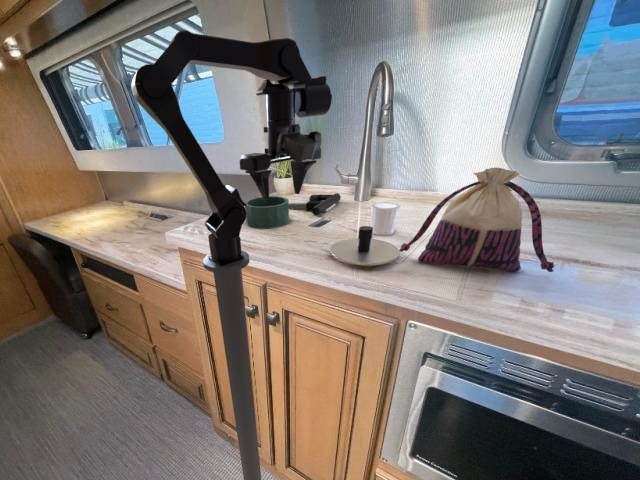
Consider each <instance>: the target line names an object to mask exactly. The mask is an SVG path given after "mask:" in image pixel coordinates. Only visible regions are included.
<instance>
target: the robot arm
mask: <svg viewBox="0 0 640 480" xmlns="http://www.w3.org/2000/svg"><path fill="white" fill-rule="evenodd" d="M297 43H298V42H297V41H295V40H294V39H292V38H291V37H290V38H289V37H286V38H274V39H268V40H263V41H254V42H252V41H245V40H239V39H233V38H227V37H220V36H213V35H206V34H200V33H195V32H194V33H193V32H191V31H189V30H187V29H181V30H179V31H178V32H177V33H176V34H175V35H174V36H173V37H172V38H171V41H170V43H169V45H168V46H167V47H166V48H165V50H164V51H162V53H161V55H160V56H159V57H158V58H157V59H156V60H155V62H154V63H153V64H151V63H149V64H148V63H147V64H144V65H142V66H141V67H139V69H138V70H137V71H136V72H135V74H134V76H133V78H132V79H131V92H132V95H133V97H134V99H135V101H136V102H137V103H138V105H140V107H141V108H142V109H143V110H144V111H145V112H146V113H147V115H148V116H149V117H150V118H151V119H153V120H154V122H156V123H157V124H158V125H159V126H160V127H161V128H162V129H163V131H164V132H165V133H166V135H167V136H168V138H169V139H170V141H171V142H172V144H173V145H174V148H176V150H177V152H178V153H179V155H180V157H181V158H182V159H183V161H184V163H185V164H186V166H187V167H188V169H189V170H190V172H191V173H192V174H193V176H194V177H195V179H196V181H197V182H198V184H199V185H200V187H201V188H202V190H203V191H204V194H205V196H206V200H207V205H208V206H209V208H210V211H211V213H210V214H209V216H208V217H207V219H206V220H205V221H204V226H205V227H206V229H207V231H208V232H210V234H208V235H207V238H208V245H209V252H210V253H211V255H210V256H208V259H210V260H212V261H213V262H215V263H217V264H218V265H220V266H224V265H227V264H229V263H232V262H235V261H238V260H241V259H244V256H243V255H241V253H242V251H243V250H242V242H241V241H242V240H241V236H240V235H241V230H242V227H243V225H244V223H245V222H246V216H247V212H246V209H245V206H247V204H245V202H244V200H243V199H242V197H241V195H240V191H239V189H237V188H236V187H233V186H232V185H229V184H226V185H224V183H223V181H222V180H221V178H220V177H219V175H218V173H217V172H216V170H215V168H214V167H213V165H212V164H211V162H210V160H209V159H208V157H207V155H206V153H205V151H204V150H203V149H202V147H201V145H200V143H199V142H198V140H197V138H196V137H195V135H194V133H193V132H192V130H191V128H190V127H189V125H188V123H187V121H186V120H185V118H184V116H183V113H182V109H181V107H180V104H179V100H178V97H177V95H176V92H175V90H174V87H173V85H172V84H173V83H174V82H175V81H176V79H178V77H180V75H181V74H182V72H183V71H184V69H185V68H186V67H187V66H188V65H197V66H204V67H205V66H206V67H213V68H222V69H231V70H239V71H245V72H248V73H251V74H252V75H254V76H255V77H258V78H260V79H263V81H262V83H261V85H260V86H259V87H258V89H257V90H255V95H256V96H258V97H259V96H265V97H266V98H265V99H266V101H265V102H266V126H264V127H263V133H264V134H266V133H267V147H266V148H264V153H263V152H252V153H247V154H242V155H241V157H240V159H239V170H241V171H244V172H245V174H249V176H250V177H251V179H252V180H253V182H254V183H255V185H256V187H257V189H258V191H259V193H260V195H261V197H263V199H264V201H265V202H269V196H270V181H269V180H270V179H269V178H270V176H271V174H272V172H273V170H271V169H270V167H271V165H273V164H277V163H282V162H286V161H287V162H288V161H290V169H291V176H292V185H293V190H294V194H296V195H300V194H301V190H302V187H303V184H304V181H305V179H306V176H307V173H308V171H309V169H310V168H311V167H312V166H313V165H314V164H316V163H317V162H318V159H322V148H321V146H322V133H321V132H319V131H318V130H315V131H310V132H309V133H308V134H303V133H301V126H300V124H299V123H296V116H297V117H298V118H308V117H309V118H310V117H318V116H325V115H326V114H327V113H329V112H330V111H329V110H330V108H331V106H332V102H333V101H332V100H333V95H332V91H331V87H330V85H329V84H328V83H327V76H326V75H323V76H317V77H312V76H311V74H310V72H309V70H308V68H307V66H306V64H305V62H304V60H303V59H302V57H301V52H300V48H299V46H298V44H297ZM272 82H276V83H272ZM290 87H292V88H290ZM241 250H242V251H241ZM210 253H209V254H210Z"/></svg>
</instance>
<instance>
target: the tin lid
mask: <svg viewBox="0 0 640 480" xmlns="http://www.w3.org/2000/svg"><path fill="white" fill-rule="evenodd" d="M329 254H330V256H331V257H332V256H333V257H334V259H336V260H337V261H339V262H342V263H345V264H349V265H352V264H354V265H353V266H355V265H364V266H373V265H376V266H382V265H387V264H390V263H392V262H395V261H396V260H397V259H398V258H399V256H400V251H399V248H398V246H396V245H394V244H392V243H390V242H387V241H385V240H381V239H375V238H373V227H371V225H362V226H360V227H359V228H358V236H357V238H346V239H342V240H339V241H336V242H335V243H333V244H332V245H331V246H330V248H329ZM333 257H332V258H333Z"/></svg>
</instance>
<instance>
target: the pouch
mask: <svg viewBox="0 0 640 480" xmlns="http://www.w3.org/2000/svg"><path fill="white" fill-rule="evenodd" d="M473 175H474V176H475V177H476V179H477V181H474V182H473V183H470V184H468V185H465V186H462V187H461V188H459V189H457V190H455V191H454V192H452V193H450V194H449V195H448V196H446V197H445V198H444V199H442V200H441V201H440V202H439V203H438V204H437V205H436V206H435V207H434V208H433V209H432V210H431V212H430V214H429V215H428V216H427V217H426V219H425V221H424V222H423V223H422V225H421V226H420V229H419V230H418V232H417V233H416V234H415V235H414V237H412V239H411V240H410V241H409V242H407V243H406V242H403V243H402V244H401V245H400V249H399V248H398V250H399V253H403V252H404V251H405V252H408V251H409V250H410V249H411V245H414V244H415V243H416V242H417V241H419V240H420V238H421V237H422V236H423V235H424V234H425V233H426V232H427V230H428V229H429V228H430V226H431V224H432V223H433V221H434V220H435V218H436V217H437V215H438V213H439V212H440V211H441V210H442V208H443V207H444V206H446V204H447V203H448V202H449V201H450V200H451V199H453V198H454V197H455V196H456V197H455V198H454V199H453V200H452V201H451V202H449V204H448V206H447V207H446V209H445V211H444V213H443V214H442V216H441V218H440V220H439V221H438V223H437V225H436V226H435V229H434V230H433V233H432V235H431V236H430V238H429V240H428V242H427V243H426V245H425V249H424V250H422V252H421V253H420V255H419V256H418V257H417V261H418V262H420V263H426V264H438V265H439V264H440V265H447V266H448V265H449V266H458V267H459V266H461V267H468V268H469V267H471V268H480V269H488V270H489V269H490V270H499V271H506V272H518V271H520V270H522V267H521V261H520V260H519V259H520V256H521V248H520V247H521V243H522V241H521V237H522V225H523V224H522V223H523V205H522V202H521V200H520V199H519V197H518V196H517V195H519V196H520V197H521V198H522V200H523V201H524V203H526V205H527V208H528V210H529V213H530V218H531V239H532V246H533V249H534V252H535V255H536V257H537V259H538V260H539V262H540V268H541V270H546V271H547V272H548V273H553V272H554V268H555V263H554V261H551V260H549V261H548V259H547V257H546V255H545V252H544V245H543V224H542V215H541V212H540V209H539V206H538V204H537V202H536V200H535V199H534V197H532V196H531V194H530V193H529V192H528V191H527V190H525V189H524V188H523V187H522V186H521V185H519V184H516V183H515V182H512V181H511V180H514V179H515V178H517V177H518V176H520V175H521V171H519V172H518V171H517V170H510V169H506V168H502V167H489V168H485V169H484V170H483V171H477V172H473ZM465 190H466V191H465ZM463 191H464V192H463ZM516 193H517V194H516ZM457 195H458V196H457Z"/></svg>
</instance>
